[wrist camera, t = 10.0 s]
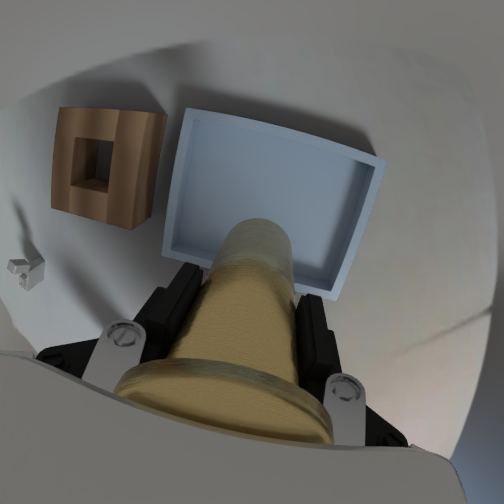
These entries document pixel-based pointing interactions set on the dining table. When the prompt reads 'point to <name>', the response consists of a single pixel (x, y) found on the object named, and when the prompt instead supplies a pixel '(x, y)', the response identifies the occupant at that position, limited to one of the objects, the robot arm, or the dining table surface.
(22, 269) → the lighter
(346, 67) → the dining table surface
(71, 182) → the socket block
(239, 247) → the brass pin
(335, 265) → the tray
